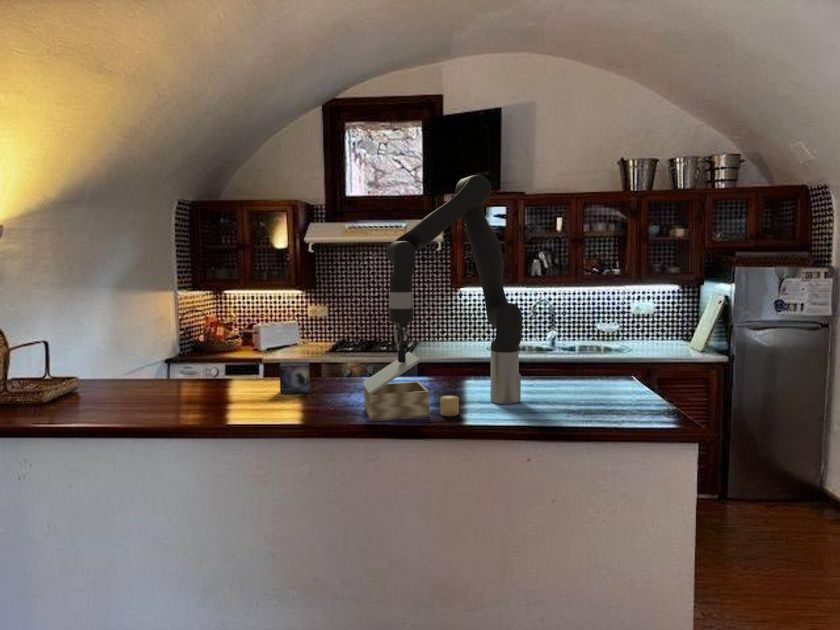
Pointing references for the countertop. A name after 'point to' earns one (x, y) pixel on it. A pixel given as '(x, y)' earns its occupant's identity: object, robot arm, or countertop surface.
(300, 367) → the small box
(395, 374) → the lid
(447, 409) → the tan rounded piece
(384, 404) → the crate
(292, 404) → the countertop surface
